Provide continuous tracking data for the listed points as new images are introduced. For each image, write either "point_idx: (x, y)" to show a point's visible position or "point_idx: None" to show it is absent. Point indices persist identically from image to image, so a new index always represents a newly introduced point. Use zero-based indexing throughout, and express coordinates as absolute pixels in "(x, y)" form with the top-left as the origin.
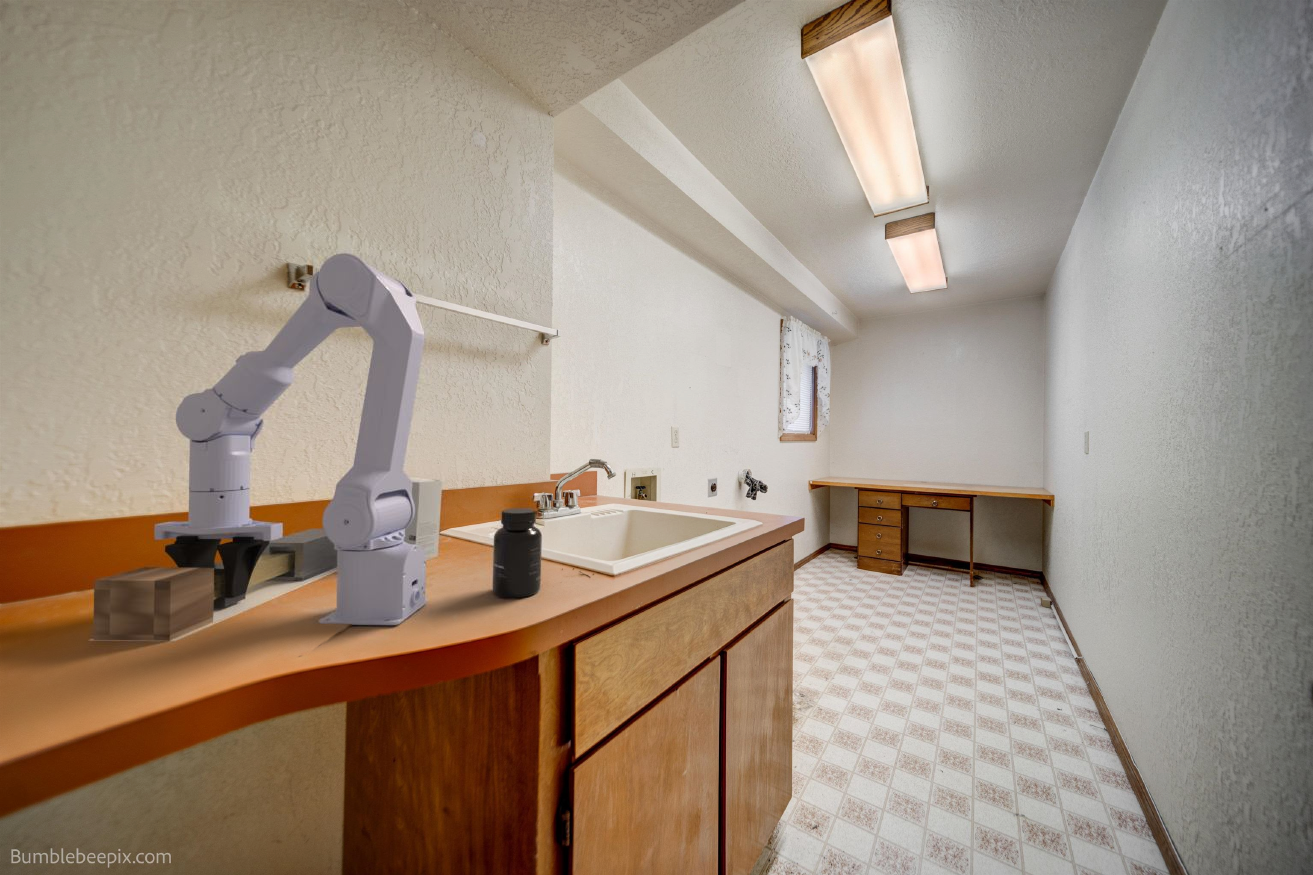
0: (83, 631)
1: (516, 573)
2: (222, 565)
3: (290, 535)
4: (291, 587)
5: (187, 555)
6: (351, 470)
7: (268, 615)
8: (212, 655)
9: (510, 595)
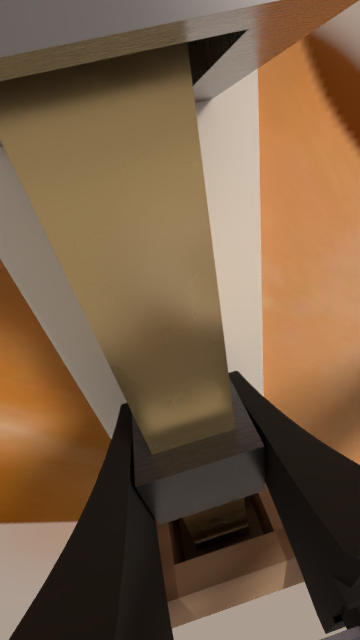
0: (66, 486)
1: None
2: (216, 486)
3: None
4: (234, 201)
5: (166, 601)
6: None
7: (313, 357)
8: (333, 443)
9: None
